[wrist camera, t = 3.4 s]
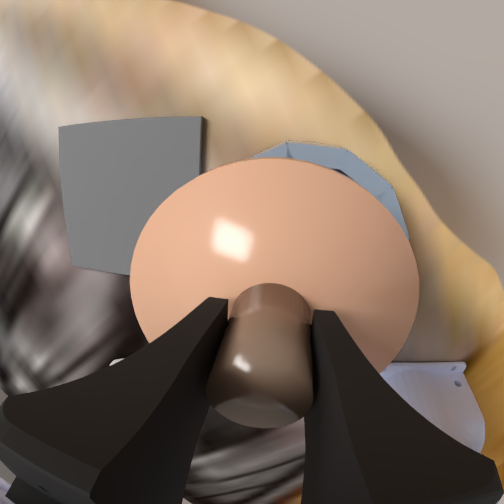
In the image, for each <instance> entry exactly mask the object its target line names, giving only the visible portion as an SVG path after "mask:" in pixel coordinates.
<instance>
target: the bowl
mask: <svg viewBox="0 0 504 504" xmlns="http://www.w3.org/2000/svg"><path fill="white" fill-rule="evenodd" d="M260 157H285V158H293V159H299V160H304V161H310V162H313V163H316V164H319V165H322V166H325V167H328V168H331V169H333V170H335V171H337V172H339V173H341V174H343V175H345V176H347V177H349V178H351V179H352V180H354V181H355V182H357V183H358V184H360V185H361V186H363V187H364V188H365V189H367V190H368V191H369V192H370V193H371V194H372V195H373V196H374V197H375V198H376V199H378V200H379V201H380V202H381V203H382V204H383V205H384V206H385V207H386V209H387V210H388V211H389V212H390V213H391V214H392V216H393V217H394V218H395V220H396V221H397V222H398V224H399V225H400V226H401V228H402V230H403V231H404V233H405V235H406V237H407V239H408V241H409V238H408V237H409V235H408V231H407V228H406V225H405V221H404V218H403V215H402V212H401V208H400V205H399V202H398V199H397V196H396V193H395V190H394V188H393V187H392V185H391V184H390V183H388V182H387V181H386V180H385V179H384V178H383V177H381V176H380V175H379V174H378V173H377V172H375V171H374V170H373V169H372V168H371V167H369V166H368V165H367V164H366V163H364V162H363V161H362V160H361V159H359V158H358V157H357V156H356V155H354V154H353V153H352V152H350V151H349V150H347V149H345V148H343V147H341V146H336V145H328V144H322V143H317V142H305V141H292V140H288V142H287V141H284V142H282V143H280V144H278V145H276V146H273V147H271V148H268V149H266V150H264V151H262V152H260V153H258V154H256V155H254V156H252V157H250V158H248V159H252V158H260Z"/></svg>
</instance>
